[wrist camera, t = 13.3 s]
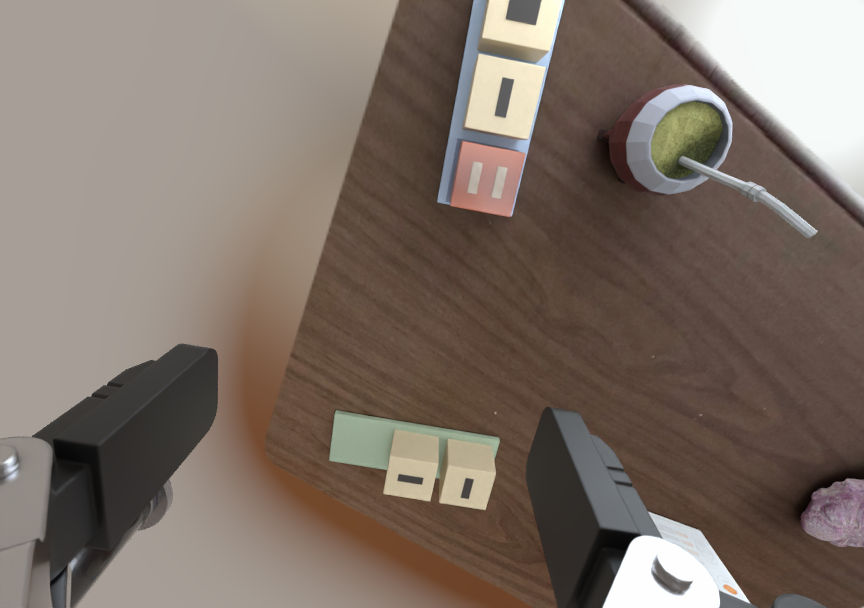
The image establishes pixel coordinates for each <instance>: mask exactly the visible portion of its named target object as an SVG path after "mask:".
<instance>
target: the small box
mask: <svg viewBox="0 0 864 608" xmlns="http://www.w3.org/2000/svg"><path fill="white" fill-rule="evenodd" d="M648 513H649V514H650V516H651V518H652V520H653V521H654V523H655V525H656V527H657V529H658V530H659V532H660V534H661V536H662V538H663V539H665V540H667V541H670V542H672V543H674V544H676V545H677V546H679V547H681V548H682V549H684V550H685V551H687V552H688V553H689V554H691V555H692V556H693V557H694V558H695V559H696V560H698V561H699V562H700V563H701V564H702V565H703V567H704V568H705V569H706V570H707V571H708V573H709V574H710V575H711V577H712V578H713V580H714V582H715V584H716V586H717V588H718V590H720V591H722V592H724V593H726V594H729V595H731V596H733V597H736V598H738V599H741V600H743V601H745V602H748V603H750V602H749V601H748V599H747V598H746V596H745V595H744V594H743V592H742V591H741V589H740V588H739V586H738V585H737V583H736V582H735V580H734V579H733V578H732V576H731V575H730V573H729V572H728V570H727V569H726V567H725V566H724V564H723V563H722V562H721V560H720V559H719V557H718V556H717V554H716V553H715V551H714V550H713V548H712V547H711V546H710V544H709V543H708V541H707V540H706V538H705V537H704V535H703V534H702V532H701V531H700V530H697V529H694V528H692V527H689V526H686V525H683V524H681V523H678V522H675V521H673V520H670V519H667V518H665V517H662V516H659V515H656V514H653V513H651V512H648Z"/></svg>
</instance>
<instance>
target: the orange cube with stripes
mask: <svg viewBox="0 0 864 608" xmlns="http://www.w3.org/2000/svg"><path fill="white" fill-rule="evenodd" d="M525 155H526V153H522V152H517V151H512V150H507V149H502V148H497V147H491V146H486V145H481V144H476V143H471V142H466V141H461V142H460V145H459V151H458V156H457V161H456V166H455V172H454V177H453V182H452V187H451V193H450V198H449V201H450V206H452V207H457V208H463V209H468V210H473V211H479V212H484V213H489V214H495V215H500V216H505V217H511V213H512V209H513V205H514V200H515V196H516V192H517V188H518V184H519V180H520V176H521V172H522V168H523V163H524V159H525Z"/></svg>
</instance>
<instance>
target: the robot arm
mask: <svg viewBox="0 0 864 608" xmlns="http://www.w3.org/2000/svg"><path fill="white" fill-rule="evenodd" d="M217 404H218V355H217V352H216V351H215V350H214V349H211V348H205V347H199V346H193V345H187V344H178V345H177V346H175V347H174V348H173V349H171V350H170V351H169V352H167V353H166V354H165V355H163V356H162V357H161V358H159V359H158V360H157V361H154V360H150V361H147V362H145V363H142V364H140V365H137V366H134V367H132V368H129V369H126V370H125V371H124V372H122V373H121V374H119V375H118V376H117V377H115V378H114V379H112V380H111V381H110V382H108V384H107V386H105V385H104V386H102V387H101V388H100V389H98V390H97V391H96V392H94V393H93V394H92V396H91V397H87V398H86V399H84V400H83V401H81V402H80V403H79V404H77V405H76V406H74V407H73V408H71V409H70V410H69V411H67V412H66V413H64V414H63V415H61V416H60V417H59V418H57V419H56V420H54V421H53V422H51V423H50V424H49V425H47V426H46V427H44V428H43V429H42V430H40V431H39V432H37V433H36V434H35V435H33V436H32V437H8V438H2V439H0V608H76V607H77V606H78V605H79V603H80V602H81V601H82V600H83V598H84V597H85V596H86V595H87V593H88V592H89V591H90V590H91V588H92V587H93V586H94V585H95V583H96V582H97V581H98V579H99V578H100V577H101V576H102V574H103V573H104V572H105V571H106V569H107V568H108V567H109V565H110V564H111V563H112V562H113V561H114V559H115V558H116V556H118V554H119V553H120V552H121V550H122V549H123V548H124V547H125V545H126V544H127V543H128V542H129V540H130V539H131V538H132V537H133V535H134V534H135V533H136V532H137V530H138V529H139V528H140V527H141V526H142V525H143V523H144V522H145V521H146V520H147V519H148V518H149V517H150V515H151V514H152V513H153V511H154V509H155V506H156V494H157V493H158V492H159V490H160V489H161V488H162V487H163V486H164V484H165V483H166V482H167V481H168V480H169V478H170V477H171V476H172V475H173V473H174V472H175V471H176V470H177V469H178V467H179V466H180V465H181V463H182V462H183V461H184V460H185V459H186V458H187V456H188V455H189V454H190V453H191V452H192V450H193V449H194V448H195V447H196V445H197V444H198V443H199V442H200V440H201V439H202V438H203V437H204V436H205V434H206V433H207V432H208V431H209V429H210V427H211V426H212V423H213V421H214V419H215V416H216V411H217ZM526 481H527V487H528V491H529V495H530V499H531V503H532V507H533V510H534V514H535V518H536V522H537V526H538V530H539V534H540V538H541V542H542V546H543V550H544V554H545V558H546V562H547V566H548V570H549V574H550V578H551V582H552V586H553V590H554V594H555V598H556V602H557V606H558V608H759V607H757V606H755V605H752V604H750V603H748V602H745V601H743V600H741V599H738V598H736V597H733V596H731V595H729V594H726V593H724V592H722V591H720V590H718V588H717V586H716V584H715V582H714V580H713V578H712V577H711V575H710V574H709V573H708V571H707V570H706V569H705V568H704V567H703V565H702V564H701V563H700V562H699V561H698V560H696V559H695V558H694V557H693V556H692V555H691V554H689V553H688V552H687V551H685V550H684V549H682V548H681V547H679V546H677V545H676V544H674V543H672V542H670V541H667V540H665V539H663V538H662V536H661V534H660V532H659V530H658V529H657V527H656V525H655V523H654V521H653V520H652V518H651V516H650V514H649V513H648V511H647V509H646V507H645V505H644V504H643V502H642V500H641V498H640V497H639V495H638V493H637V491H636V489H635V488H634V487H632V482H631V481H630V479H629V477H628V475H627V473H625V472H624V468H623V466H622V465H621V463H620V461H619V459H618V457H617V456H616V454H615V452H614V451H613V450H612V449H611V448H610V447H609V446H608V445H607V444H606V443H604V442H603V441H602V440H601V439H600V438H599V437H598V436H594V435H590V433H589V431H588V429H587V427H586V425H585V423H584V421H583V419H582V417H581V415H580V414H579V413H578V412H575V411H570V410H564V409H558V408H552V407H546V408H545V409H544V411H543V413H542V415H541V418H540V422H539V425H538V428H537V431H536V434H535V437H534V440H533V443H532V447H531V450H530V453H529V456H528V460H527V466H526ZM770 608H827V607H825V606H824V605H822V604H820V603H818V602H816V601H814V600H812V599H809V598H806V597H804V596H800V595H797V594H783V595H780V596H779V597H777V598H776V600H775V601H774V603H773V604H772V606H771V607H770Z"/></svg>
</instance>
